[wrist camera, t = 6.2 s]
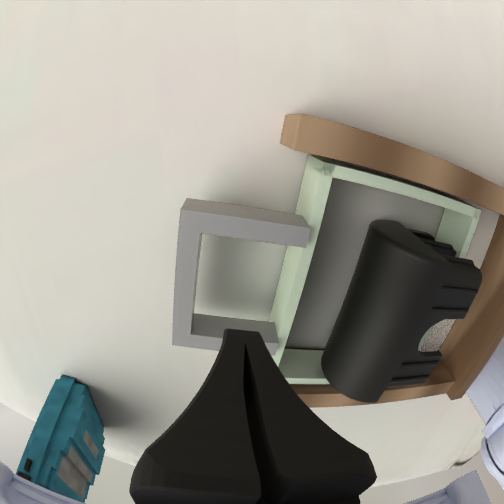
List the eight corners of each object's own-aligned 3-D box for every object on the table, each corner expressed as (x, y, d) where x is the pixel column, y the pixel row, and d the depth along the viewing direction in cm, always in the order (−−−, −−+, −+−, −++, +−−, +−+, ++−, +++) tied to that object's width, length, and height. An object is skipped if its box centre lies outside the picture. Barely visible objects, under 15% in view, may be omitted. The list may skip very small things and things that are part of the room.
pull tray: (454, 196, 17) (486, 212, 14) (387, 356, 23) (403, 384, 20) (198, 136, 15) (189, 140, 12) (178, 343, 21) (172, 378, 18)
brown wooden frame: (515, 198, 18) (555, 218, 13) (439, 364, 25) (461, 397, 20) (285, 115, 15) (306, 113, 11) (235, 365, 22) (236, 416, 18)
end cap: (350, 208, 18) (404, 256, 12) (434, 227, 19) (495, 271, 12) (309, 336, 22) (331, 408, 16) (387, 339, 23) (421, 398, 16)
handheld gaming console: (54, 370, 22) (0, 499, 9) (91, 379, 23) (44, 521, 9) (80, 424, 26) (50, 530, 13) (112, 432, 27) (88, 544, 13)
